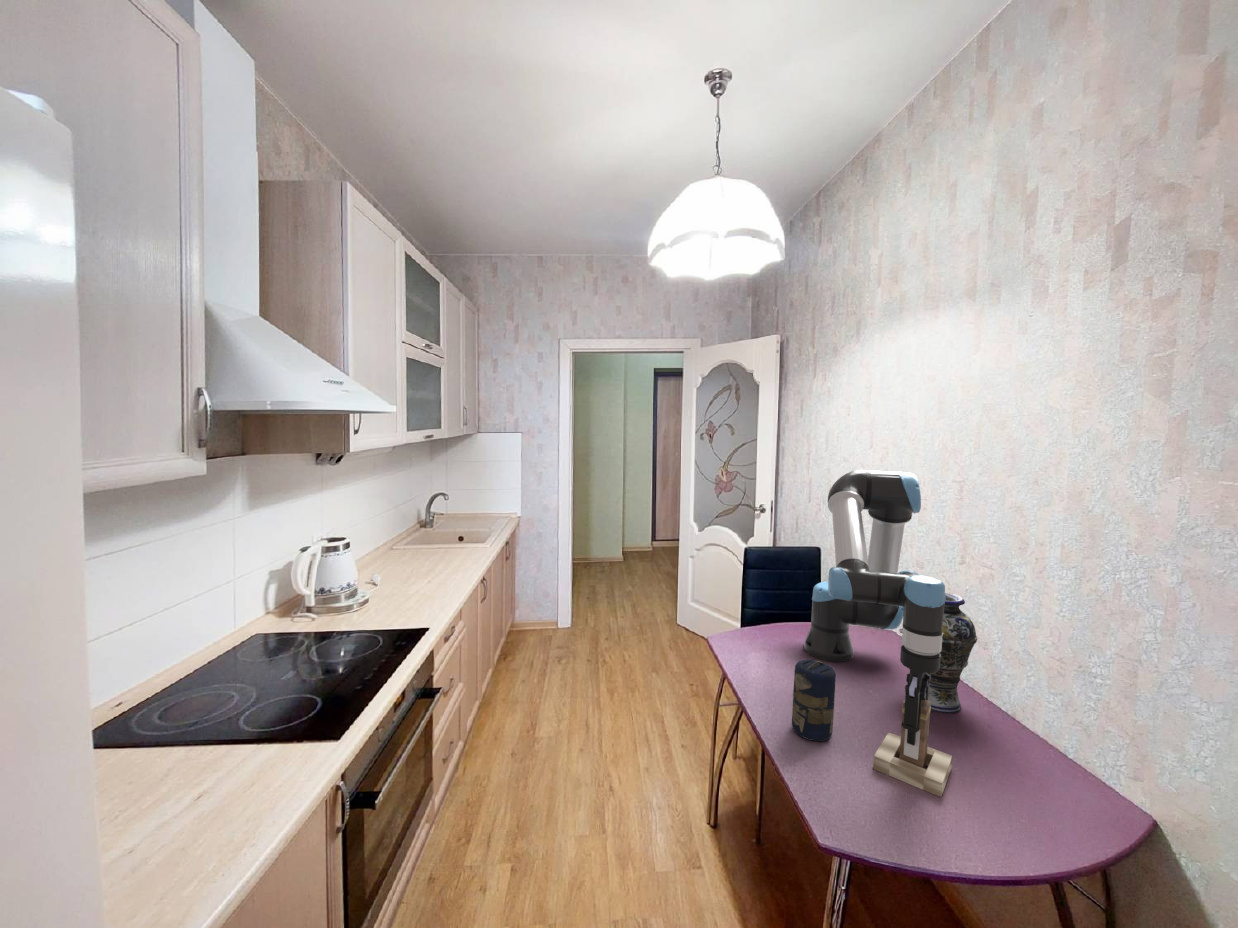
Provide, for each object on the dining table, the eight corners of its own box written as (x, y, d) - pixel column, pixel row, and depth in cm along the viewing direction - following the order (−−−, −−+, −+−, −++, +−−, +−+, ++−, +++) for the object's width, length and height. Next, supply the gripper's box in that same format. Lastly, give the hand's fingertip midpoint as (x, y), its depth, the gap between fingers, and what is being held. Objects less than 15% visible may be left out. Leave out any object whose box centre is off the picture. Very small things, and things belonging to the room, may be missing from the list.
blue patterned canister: (783, 725, 132) (786, 656, 130) (814, 718, 135) (817, 651, 134) (808, 747, 123) (812, 673, 121) (841, 740, 126) (845, 668, 125)
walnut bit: (903, 752, 119) (907, 693, 118) (926, 761, 116) (931, 701, 115) (898, 762, 116) (902, 701, 115) (922, 771, 113) (926, 709, 112)
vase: (943, 724, 134) (952, 610, 131) (886, 691, 149) (893, 589, 147) (987, 712, 140) (996, 602, 137) (927, 682, 156) (934, 583, 153)
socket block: (887, 744, 125) (888, 732, 125) (951, 768, 116) (952, 755, 116) (873, 768, 116) (873, 755, 116) (941, 797, 107) (942, 783, 107)
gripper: (910, 632, 123) (904, 726, 125) (891, 656, 110) (884, 762, 112) (948, 641, 118) (940, 739, 120) (932, 667, 105) (924, 778, 107)
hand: (913, 750), depth 116 cm, fingers closed on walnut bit, 4 cm apart
